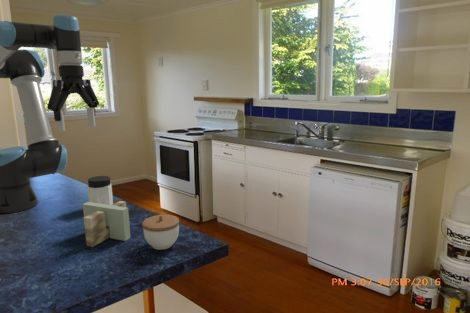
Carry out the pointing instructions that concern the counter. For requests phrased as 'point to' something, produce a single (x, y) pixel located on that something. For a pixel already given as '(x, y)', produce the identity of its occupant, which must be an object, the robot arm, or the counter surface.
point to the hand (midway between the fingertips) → (77, 128)
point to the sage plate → (112, 219)
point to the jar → (100, 190)
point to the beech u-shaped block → (98, 226)
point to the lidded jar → (161, 231)
